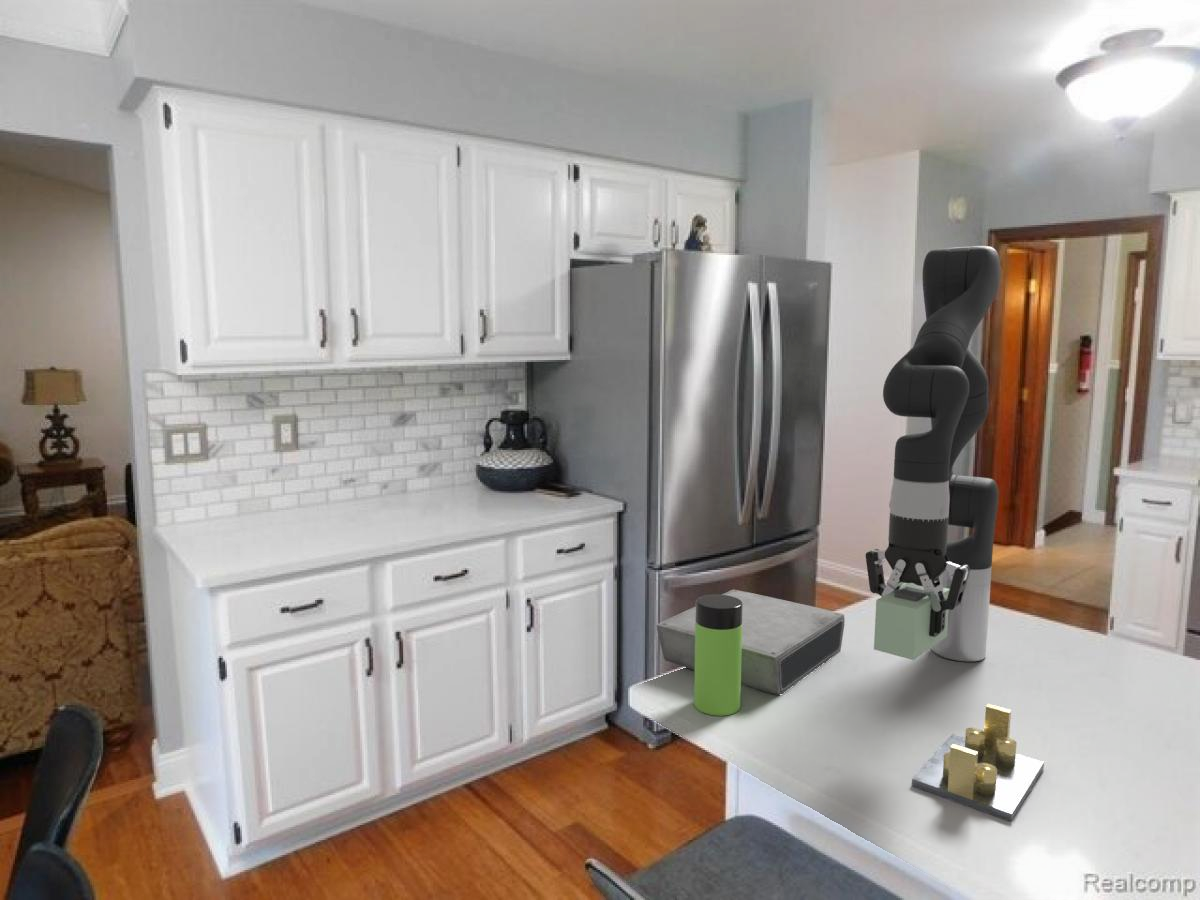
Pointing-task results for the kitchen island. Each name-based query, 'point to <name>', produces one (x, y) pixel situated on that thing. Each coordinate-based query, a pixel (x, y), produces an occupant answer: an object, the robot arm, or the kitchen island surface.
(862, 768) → the kitchen island surface
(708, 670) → the tumbler
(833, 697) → the kitchen island surface
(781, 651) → the speaker
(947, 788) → the metal plate
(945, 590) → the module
